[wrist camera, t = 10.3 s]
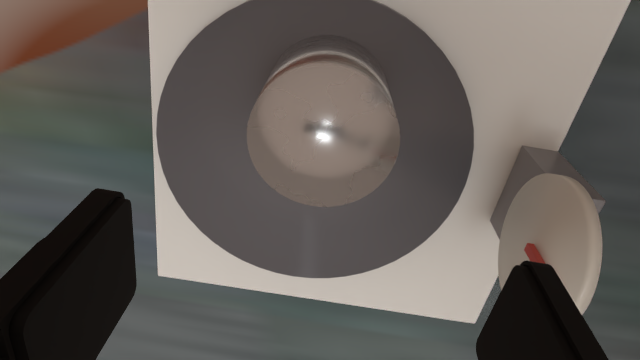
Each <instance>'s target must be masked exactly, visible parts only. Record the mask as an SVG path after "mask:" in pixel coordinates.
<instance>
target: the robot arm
mask: <svg viewBox="0 0 640 360" xmlns="http://www.w3.org/2000/svg"><path fill="white" fill-rule="evenodd" d="M135 290H136V268H135V254H134V239H133V224H132V210H131V202H130V200H127V199H125V198H124V195H123V193H121V192H116V191H111V190H105V189H99V188H98V189H95V190H93V191H92V192H91V193H90V194H89V195H88V196H87V197H86V198H85V199H84V200H83V201H82V202H81V203H80V204H79V205H78V206H77V207H76V208H75V209H74V210H73V211H72V212H71V213H70V214H69V215H68V216H67V217H66V218H65V219H64V220H63V221H62V222H61V223H60V224H59V225H58V226H57V227H56V228H55V229H54V230H53V231H52V232H51V233H50V234H49V235H48V236H47V237H45V238H43V239H42V240H41V241H39V242H38V243H37V244H36V245H35V246H34V247H33V248H32V249H31V250H30V251H29V252H28V253H27V254H26V255H25V256H24V257H22V258H21V259H20V260H19V261H18V262H17V263H16V264H15V265H14V266H13V267H12V268H11V269H10V270H9V271H8V272H7V273H6V274H5V275H4V276H3V277H2V278H1V279H0V360H95V359H96V358H97V356H98V354H99V353H100V351H101V349H102V348H103V346H104V344H105V343H106V341H107V339H108V338H109V336H110V334H111V333H112V331H113V330H114V328H115V326H116V325H117V323H118V321H119V320H120V318H121V316H122V315H123V313H124V311H125V310H126V308H127V306H128V305H129V303H130V301H131V300H132V298H133V296H134V293H135ZM476 353H477V357H478V360H608V358H607V356H606V355H605V353H604V351H603V350H602V348H601V346H600V345H599V343H598V341H597V340H596V338H595V336H594V335H593V333H592V331H591V330H590V328H589V326H588V325H587V323H586V321H585V320H584V318H583V316H582V315H581V313H580V311H579V310H578V308H577V306H576V305H575V303H574V301H573V300H572V298H571V296H570V295H569V293H568V291H567V290H566V288H565V286H564V285H563V283H562V281H561V280H560V278H559V276H558V275H557V273H556V271H555V270H554V268H553V267H552V266H551V265H549V264H544V263H538V262H532V261H523V262H522V263H521V264H520V265H515V266H514V267H513V269H512V270H511V272H510V274H509V276H508V278H507V280H506V283H505V285H504V287H503V289H502V291H501V293H500V295H499V297H498V299H497V301H496V303H495V305H494V307H493V309H492V311H491V313H490V315H489V317H488V319H487V321H486V323H485V325H484V327H483V329H482V331H481V333H480V335H479V337H478V339H477V343H476Z"/></svg>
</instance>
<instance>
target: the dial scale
mask: <svg viewBox="0 0 640 360" xmlns="http://www.w3.org/2000/svg"><path fill="white" fill-rule="evenodd" d="M630 1H631V0H148V17H149V44H150V71H151V98H152V125H153V152H154V179H155V206H156V233H157V260H158V276H164V277H171V278H177V279H184V280H191V281H197V282H204V283H210V284H217V285H223V286H230V287H237V288H243V289H250V290H256V291H263V292H270V293H276V294H283V295H289V296H296V297H303V298H309V299H316V300H322V301H329V302H335V303H342V304H349V305H355V306H362V307H368V308H375V309H382V310H388V311H395V312H401V313H408V314H414V315H421V316H428V317H434V318H441V319H447V320H454V321H461V322H467V323H474V324H475V322H476V320H477V318H478V316H479V314H480V312H481V310H482V308H483V306H484V304H485V302H486V300H487V298H488V296H489V293H490V291H491V289H492V287H493V285H494V283H495V281H496V279H497V277H498V275H499V282H500V287H501V291H502V289H503V287H504V285H505V283H506V280H507V278H508V276H509V274H510V272H511V270H512V269H513V267H514V266H515V265H520V264H521V263H522V262H523V261H532V262H538V263H544V264H549V265H551V266H552V267H553V268H554V270H555V271H556V273H557V275H558V276H559V278H560V280H561V281H562V283H563V285H564V286H565V288H566V290H567V291H568V293H569V295H570V296H571V298H572V300H573V301H574V303H575V305H576V306H577V308H578V310H579V311H580V313H581V315H583V313H584V312H585V311H586V309H587V307H588V305H589V304H590V302H591V299H592V297H593V295H594V292H595V289H596V286H597V283H598V279H599V274H600V269H601V261H602V232H601V226H600V220H599V216H598V214H599V212H600V211H601V209H602V207H603V205H604V204H605V202H606V201H605V200H604V199H603V198H602V197H601V196H600V194H599V193H598V192H597V191H596V190H595V189H594V188H593V187H592V186H591V185H590V184H589V183H588V182H587V181H586V180H585V179H584V178H583V177H582V176H581V175H580V174H579V173H578V172H577V171H576V170H575V169H574V167H573V166H572V165H571V164H570V163H569V162H568V161H567V160H566V159H565V158H564V157H563V156H562V155H561V154H560V153H559V152H558V150H559V148H560V146H561V144H562V142H563V140H564V138H565V136H566V134H567V132H568V130H569V128H570V126H571V123H572V121H573V119H574V117H575V115H576V113H577V111H578V109H579V107H580V105H581V103H582V101H583V99H584V97H585V94H586V92H587V90H588V88H589V86H590V84H591V82H592V80H593V78H594V76H595V74H596V72H597V70H598V68H599V65H600V63H601V61H602V59H603V57H604V55H605V53H606V51H607V49H608V47H609V45H610V43H611V41H612V39H613V36H614V34H615V32H616V30H617V28H618V26H619V24H620V22H621V20H622V18H623V16H624V14H625V12H626V9H627V7H628V5H629V3H630ZM319 35H336V36H341V37H345V38H348V39H351V40H353V41H355V42H357V43H359V44H360V45H362V46H363V47H365V48H366V49H367V50H368V51H369V52H370V53H371V54H372V55H373V56H374V57H375V58H376V60H377V61H378V62H379V64H380V66H381V68H382V70H383V72H384V75H385V78H386V81H387V84H388V88H389V91H390V95H391V98H392V102H393V105H394V109H395V112H396V116H397V119H398V124H399V128H400V147H399V152H398V156H397V159H396V162H395V164H394V166H393V168H392V170H391V172H390V173H389V175H388V176H387V178H386V179H385V180H384V181H383V182H382V183H381V185H380V186H378V187H377V188H376V189H375V190H374V191H373V192H371V193H370V194H368V195H366V196H365V197H363V198H361V199H359V200H357V201H354V202H351V203H349V204H345V205H340V206H333V207H317V206H310V205H305V204H301V203H298V202H295V201H293V200H290V199H288V198H286V197H284V196H283V195H281V194H279V193H278V192H277V191H275V190H274V189H273V188H271V187H270V186H269V185H268V184H267V183H266V182H265V181H264V180H263V178H262V177H261V176H260V174H259V173H258V171H257V170H256V168H255V166H254V164H253V162H252V160H251V157H250V154H249V150H248V145H247V126H248V120H249V117H250V114H251V111H252V109H253V107H254V105H255V103H256V101H257V99H258V97H259V95H260V93H261V91H262V89H263V87H264V85H265V83H266V81H267V79H268V77H269V75H270V74H271V72H272V70H273V68H274V66H275V64H276V63H277V61H278V59H279V58H280V57H281V56H282V55H283V53H284V52H285V51H287V50H288V49H289V48H290V47H291V46H293V45H294V44H296V43H298V42H300V41H302V40H304V39H307V38H310V37H313V36H319Z"/></svg>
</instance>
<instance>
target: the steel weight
mask: <svg viewBox="0 0 640 360" xmlns="http://www.w3.org/2000/svg"><path fill="white" fill-rule="evenodd" d="M247 145H248V150H249V154H250V157H251V160H252V162H253V164H254V166H255V168H256V170H257V171H258V173H259V174H260V176H261V177H262V178H263V180H264V181H265V182H266V183H267V184H268V185H269V186H270V187H271V188H273V189H274V190H275V191H277V192H278V193H279V194H281V195H283V196H284V197H286V198H288V199H290V200H293V201H295V202H298V203H301V204H305V205H310V206H317V207H333V206H340V205H345V204H349V203H351V202H354V201H357V200H359V199H361V198H363V197H365V196H366V195H368V194H370V193H371V192H373V191H374V190H375V189H376V188H377V187H378V186H380V185H381V183H382V182H383V181H384V180H385V179H386V178H387V176H388V175H389V173H390V172H391V170H392V168H393V166H394V164H395V162H396V159H397V156H398V152H399V147H400V128H399V124H398V119H397V116H396V112H395V109H394V105H393V102H392V98H391V95H390V91H389V88H388V84H387V81H386V78H385V75H384V72H383V70H382V68H381V66H380V64H379V62H378V61H377V60H376V58H375V57H374V56H373V55H372V54H371V53H370V52H369V51H368V50H367V49H366V48H365V47H363V46H362V45H360V44H359V43H357V42H355V41H353V40H351V39H348V38H345V37H341V36H336V35H319V36H313V37H310V38H307V39H304V40H302V41H300V42H298V43H296V44H294V45H293V46H291V47H290V48H289V49H288V50H287V51H285V52H284V53H283V55H282V56H281V57H280V58H279V59H278V61H277V63H276V64H275V66H274V68H273V70H272V72H271V74H270V75H269V77H268V79H267V81H266V83H265V85H264V87H263V89H262V91H261V93H260V95H259V97H258V99H257V101H256V103H255V105H254V107H253V109H252V111H251V114H250V117H249V120H248V126H247Z"/></svg>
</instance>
